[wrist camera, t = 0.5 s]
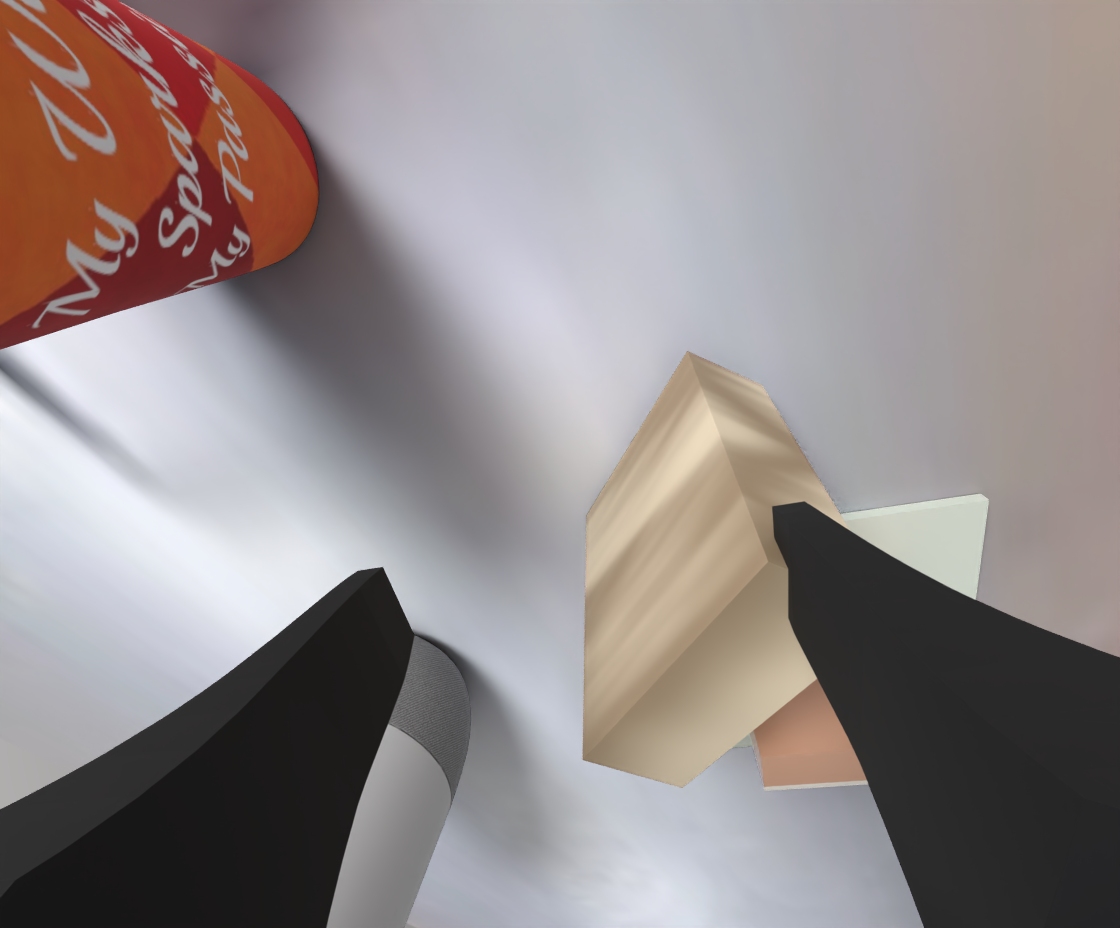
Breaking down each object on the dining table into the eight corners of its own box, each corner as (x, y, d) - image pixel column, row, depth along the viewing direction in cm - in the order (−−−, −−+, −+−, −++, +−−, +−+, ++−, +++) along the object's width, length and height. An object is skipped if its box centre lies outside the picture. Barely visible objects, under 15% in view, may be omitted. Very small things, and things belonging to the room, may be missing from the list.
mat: (980, 493, 21) (988, 500, 20) (952, 721, 26) (958, 730, 26) (621, 545, 23) (622, 552, 22) (664, 744, 28) (666, 752, 28)
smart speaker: (495, 736, 29) (412, 1139, 17) (336, 735, 30) (146, 1114, 18) (465, 601, 25) (324, 1002, 13) (282, 606, 26) (-17, 981, 14)
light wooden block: (762, 385, 18) (899, 611, 10) (649, 539, 23) (682, 787, 14) (687, 351, 18) (768, 561, 10) (586, 515, 22) (582, 759, 14)
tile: (887, 559, 22) (1027, 737, 14) (886, 590, 22) (1019, 775, 15) (712, 582, 23) (761, 757, 16) (716, 611, 23) (764, 791, 16)
